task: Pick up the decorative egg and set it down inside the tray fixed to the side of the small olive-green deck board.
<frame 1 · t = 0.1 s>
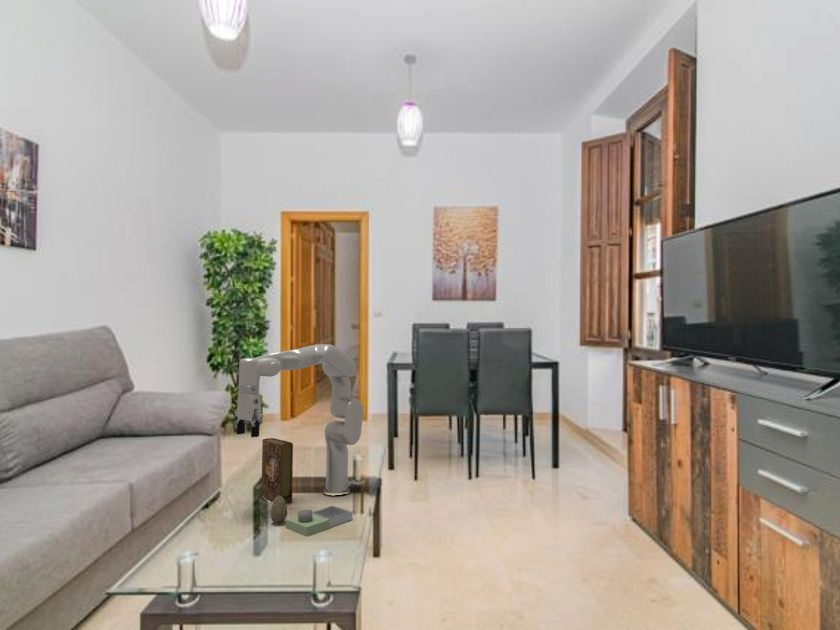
hand: (247, 435, 196), 31 cm above the table, fingers open, 9 cm apart
tray: (330, 520, 193), on the table
deck: (307, 528, 184), on the table
book: (275, 501, 216), on the table
decorative egg: (278, 524, 189), on the table
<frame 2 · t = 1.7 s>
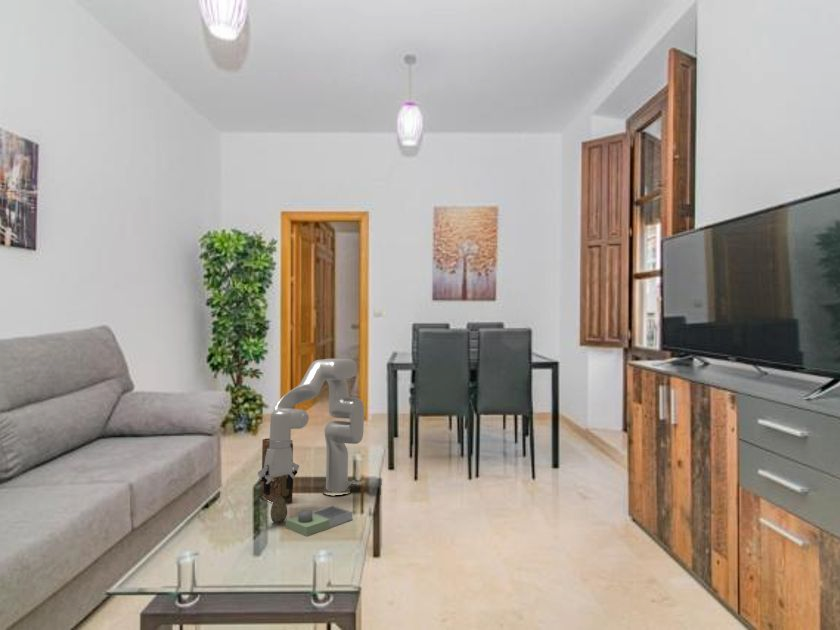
hand: (278, 491, 189), 12 cm above the table, fingers open, 9 cm apart
nothing on the table moved.
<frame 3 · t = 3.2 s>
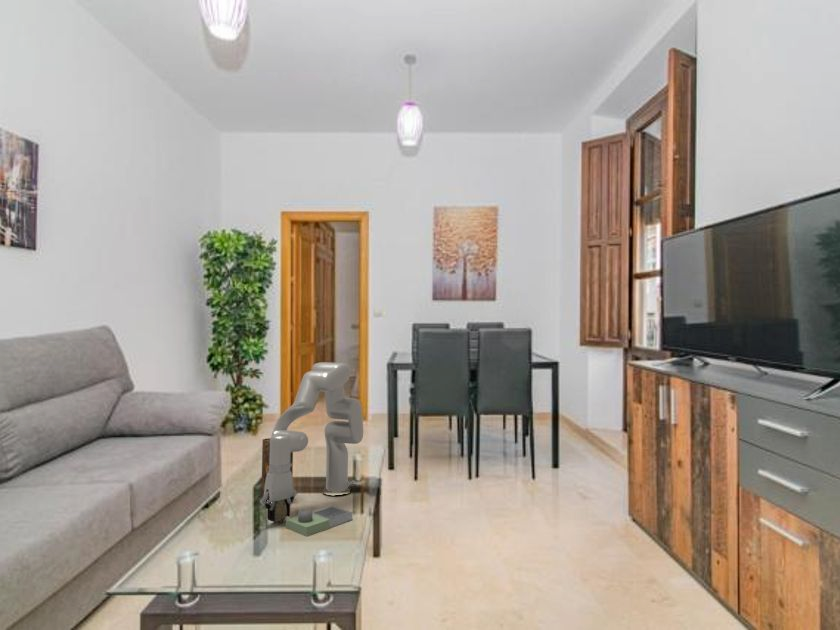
hand: (278, 517, 189), 2 cm above the table, fingers closed on decorative egg, 6 cm apart
decorative egg: (278, 523, 189), on the table, touching gripper
everything else where it was.
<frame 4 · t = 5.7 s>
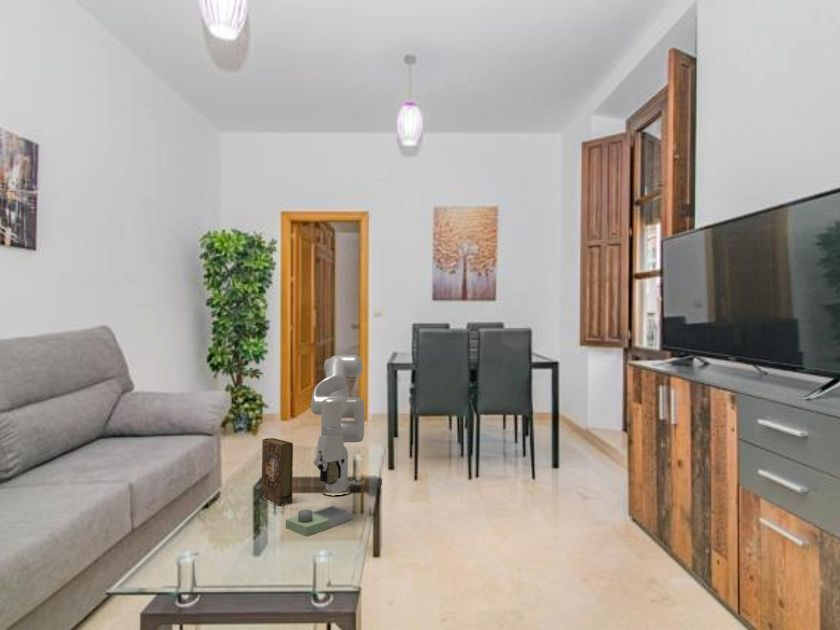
hand: (330, 478, 194), 15 cm above the table, fingers closed on decorative egg, 6 cm apart
decorative egg: (330, 485, 193), point 13 cm above the table, touching gripper
everything else where it was.
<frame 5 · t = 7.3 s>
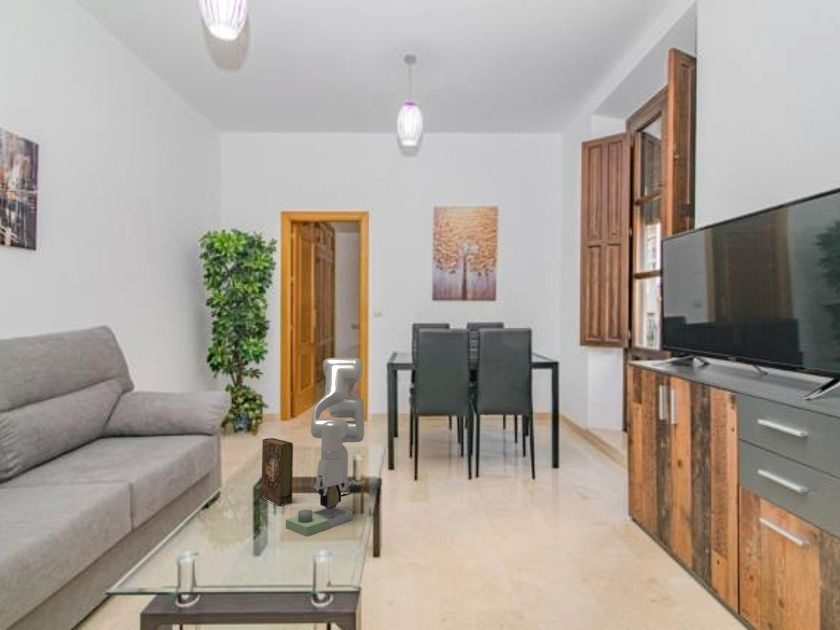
hand: (330, 503, 193), 6 cm above the table, fingers closed on decorative egg, 6 cm apart
decorative egg: (330, 509, 193), point 4 cm above the table, touching gripper
everything else where it was.
when the fingers open (4 cm above the table, at t = 8.2 s): decorative egg drops 2 cm, resting on tray.
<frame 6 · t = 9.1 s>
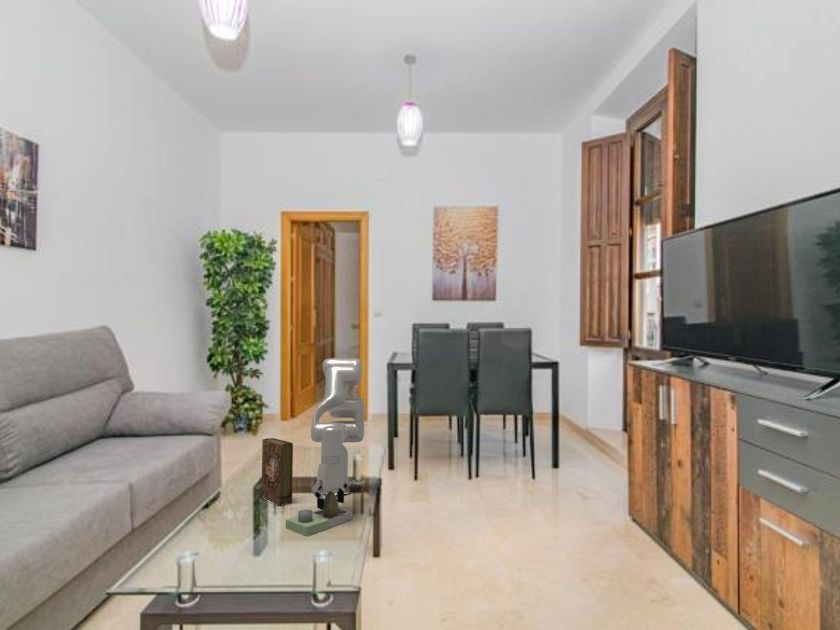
hand: (330, 505, 193), 5 cm above the table, fingers open, 9 cm apart
decorative egg: (330, 519, 193), resting on tray
everything else where it was.
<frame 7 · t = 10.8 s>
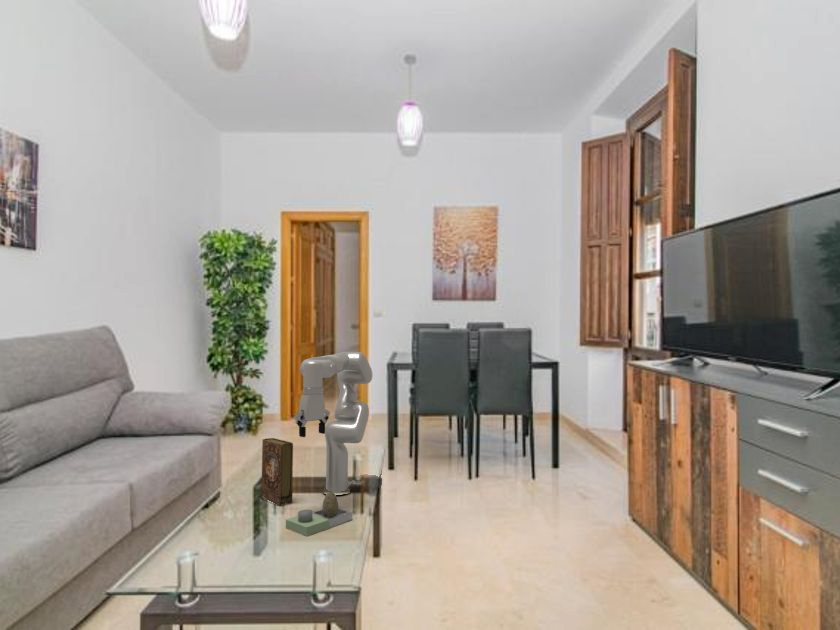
hand: (312, 435, 204), 30 cm above the table, fingers open, 9 cm apart
nothing on the table moved.
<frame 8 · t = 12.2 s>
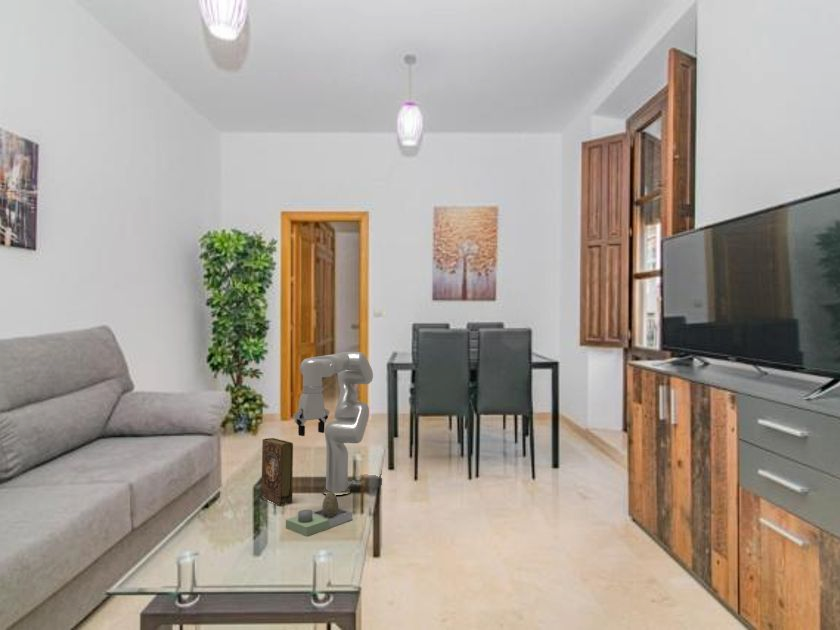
hand: (311, 434, 204), 30 cm above the table, fingers open, 9 cm apart
nothing on the table moved.
at the end: decorative egg inside the target area on the tray (0.1 cm from its centre), point 0.4 cm above the tray's base; decorative egg touching tray; the gripper is holding nothing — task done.
